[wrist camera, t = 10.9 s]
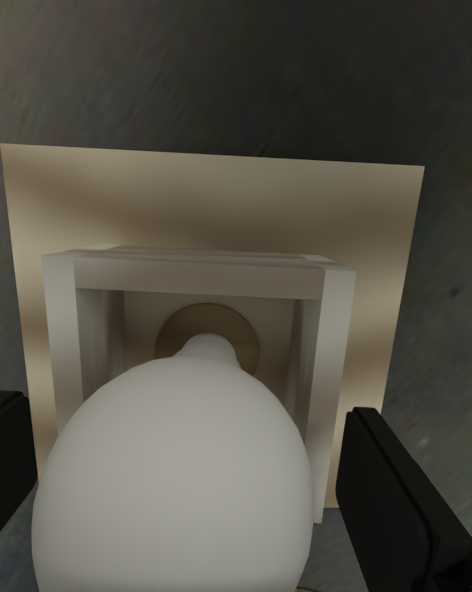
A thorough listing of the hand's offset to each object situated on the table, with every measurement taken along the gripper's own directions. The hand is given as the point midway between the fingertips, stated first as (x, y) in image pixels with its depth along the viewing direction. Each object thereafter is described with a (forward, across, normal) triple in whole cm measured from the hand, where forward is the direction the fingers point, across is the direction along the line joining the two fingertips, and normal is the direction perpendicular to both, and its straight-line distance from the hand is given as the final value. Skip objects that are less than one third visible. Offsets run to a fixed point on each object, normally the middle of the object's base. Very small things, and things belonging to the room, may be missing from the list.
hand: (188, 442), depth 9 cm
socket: (+8, 0, 0) cm, 8 cm away
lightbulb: (+6, 0, 0) cm, 6 cm away
